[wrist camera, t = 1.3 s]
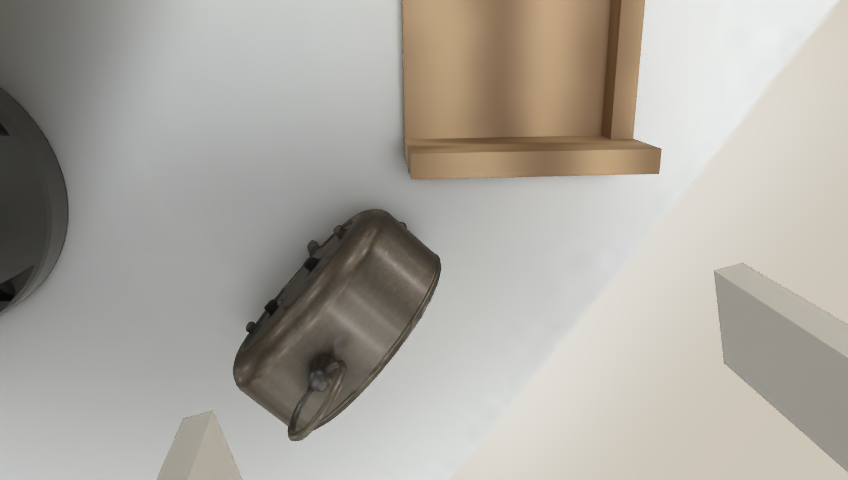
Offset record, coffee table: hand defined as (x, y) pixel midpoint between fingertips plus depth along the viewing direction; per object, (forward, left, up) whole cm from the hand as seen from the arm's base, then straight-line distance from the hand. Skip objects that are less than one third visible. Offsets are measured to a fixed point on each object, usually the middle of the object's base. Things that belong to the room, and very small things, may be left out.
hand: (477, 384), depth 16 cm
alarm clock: (-5, -4, -22) cm, 22 cm away
